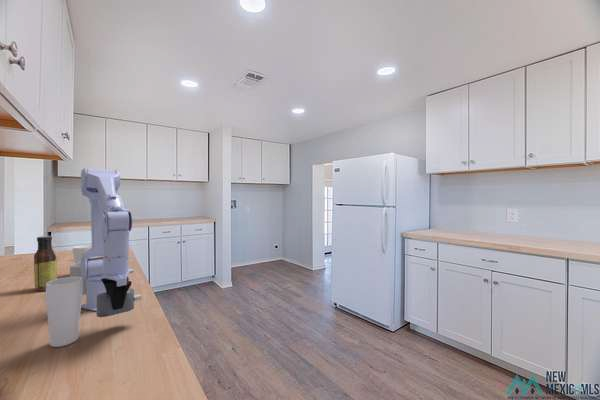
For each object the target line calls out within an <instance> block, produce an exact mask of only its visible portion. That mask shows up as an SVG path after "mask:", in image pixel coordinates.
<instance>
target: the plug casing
mask: <svg viewBox="0 0 600 400" xmlns="http://www.w3.org/2000/svg"><path fill="white" fill-rule="evenodd" d="M141 300H142V295H141V294H140V293H138V294H135V289H134V288H131V287H130V288H129V289H128V291H127V294H126V297H125V302H124V305H123V308H121V309H117V310H113V308H112V304H111V298H110V294H109V292H105V293H101V294H99V295H97V311H96V318H107V317H111V316H115V315H118V314H123V313H126V312H131V311H132V310H134V309H135V302H137V301H141Z"/></svg>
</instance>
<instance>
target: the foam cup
mask: <svg viewBox="0 0 600 400" xmlns="http://www.w3.org/2000/svg"><path fill="white" fill-rule="evenodd" d="M91 248H92V243H91V244H81V245H75V246H73V247H72V254H73V259H74V264H75V263H79V262H81V257H82V255H83V254H84V253H85V252H87V251H88V250H89V249H91ZM91 258H99V256H95V257H90V258H89V259H91Z"/></svg>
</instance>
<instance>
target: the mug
mask: <svg viewBox="0 0 600 400" xmlns="http://www.w3.org/2000/svg"><path fill="white" fill-rule="evenodd" d="M69 277H81V262H79V263H75V262H74V263H72V264H71V265H70V267H69ZM81 278H82V277H81ZM82 283H83V294H82V295H86V292H87V280H86V279H83V278H82Z"/></svg>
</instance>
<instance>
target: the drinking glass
mask: <svg viewBox="0 0 600 400" xmlns="http://www.w3.org/2000/svg"><path fill="white" fill-rule="evenodd" d="M83 295H84V294H83V283H82V278H81V277H70V276H67V277H60V278H57V279H55V280H52V281H49V282H47V283H46V291H45V308H46V315H47V324H48V325H47V326H48V333H49V335H48V336H49V337H48V338H49V346H51V347H53V348H61V347H65V346H68V345H71V344H73V343H74V342H76V341H78V339H79V336H80V321H81V313H82V311H81V310H82V308H81V305H83V303H82V302H83Z"/></svg>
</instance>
